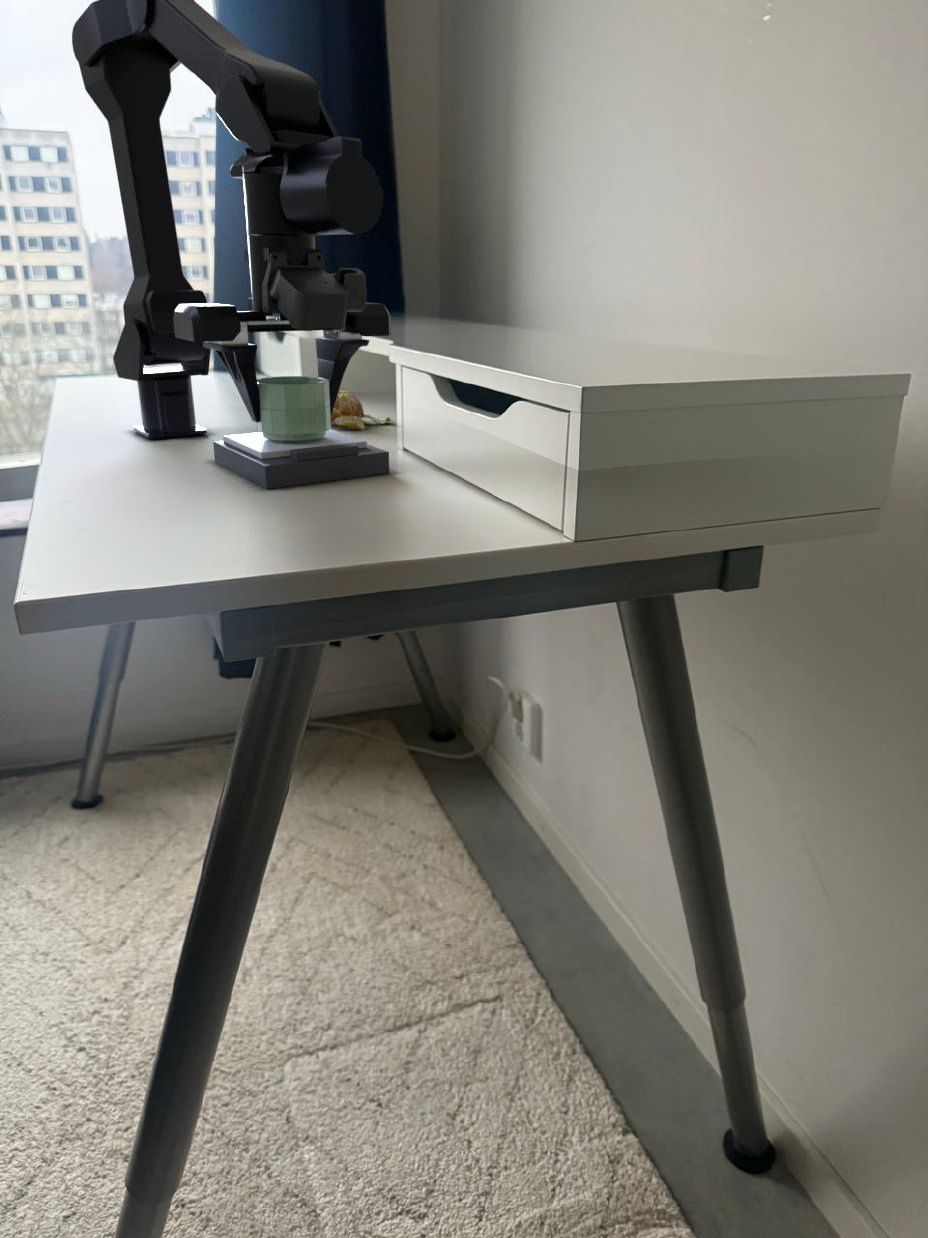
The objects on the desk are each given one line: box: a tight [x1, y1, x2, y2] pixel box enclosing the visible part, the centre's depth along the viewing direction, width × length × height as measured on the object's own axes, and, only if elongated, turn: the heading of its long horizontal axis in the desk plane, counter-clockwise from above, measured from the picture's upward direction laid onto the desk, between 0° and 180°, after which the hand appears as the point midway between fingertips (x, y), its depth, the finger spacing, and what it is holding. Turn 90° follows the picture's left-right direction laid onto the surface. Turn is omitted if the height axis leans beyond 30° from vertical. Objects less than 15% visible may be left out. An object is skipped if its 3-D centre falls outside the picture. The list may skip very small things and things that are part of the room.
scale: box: [212, 428, 390, 490], centre depth 81 cm, size 13×12×3 cm
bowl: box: [255, 375, 332, 441], centre depth 80 cm, size 7×7×5 cm
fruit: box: [331, 390, 392, 430], centre depth 104 cm, size 8×8×4 cm
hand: (292, 418), depth 80 cm, fingers closed on bowl, 7 cm apart
